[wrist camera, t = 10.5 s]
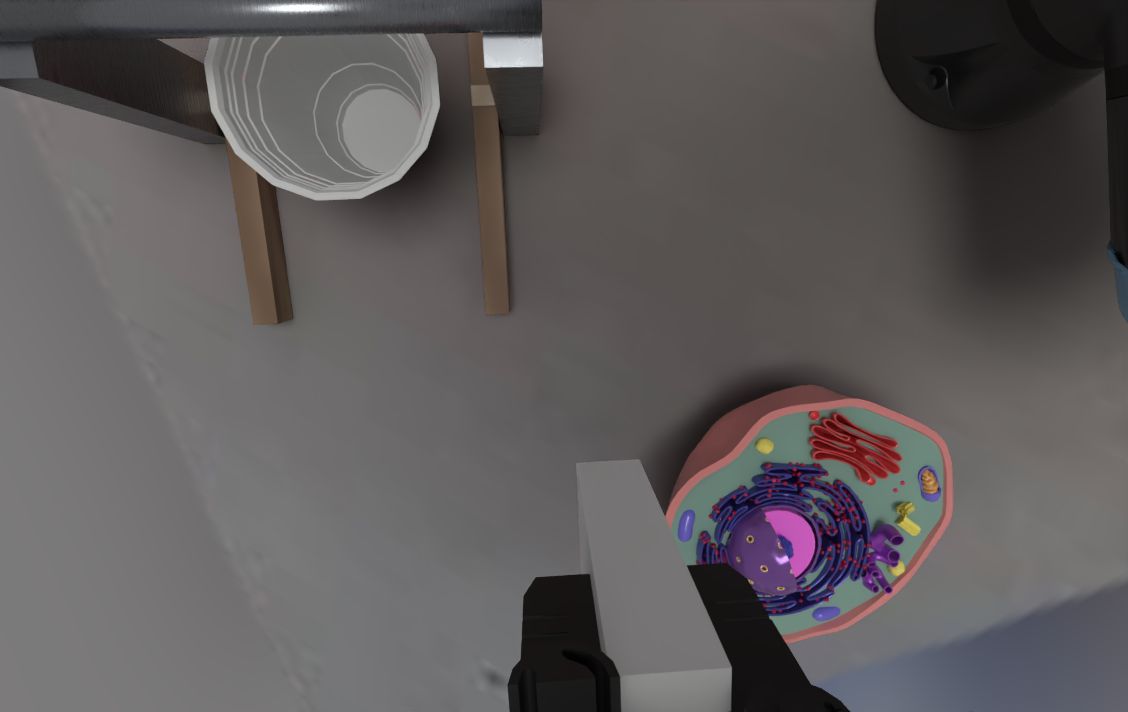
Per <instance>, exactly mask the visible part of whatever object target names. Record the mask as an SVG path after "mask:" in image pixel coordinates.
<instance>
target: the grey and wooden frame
mask: <svg viewBox="0 0 1128 712" xmlns="http://www.w3.org/2000/svg"><path fill="white" fill-rule="evenodd" d="M429 33H468V48H469V63H470V79H471V98H472V109H473V125H474V140H475V155H476V171H477V186H478V202H479V217H480V232H481V248H482V263H483V279H484V294H485V309H486V315H497V314H509V313H510V310H511V308H510V290H509V272H508V254H507V237H506V219H505V201H504V183H503V165H502V147H501V129H500V124H501V128H502V131H503V135H504V136H514V135H539V122H540V107H541V91H542V75H543V52H542V2H541V0H0V86H1V87H5V88H8V89H12V90H15V91H19V92H22V93H26V94H29V95H33V96H37V97H40V98H44V99H47V100H51V101H54V102H58V103H61V104H65V105H68V106H72V107H75V108H79V109H82V110H86V111H90V112H93V113H97V114H100V115H104V116H107V117H111V118H114V119H118V120H121V121H125V122H128V123H132V124H136V125H139V126H143V127H146V128H150V129H153V130H157V131H160V132H164V133H167V134H171V135H174V136H178V137H181V138H185V139H189V140H192V141H196V142H199V143H203V144H226V146H227V153H228V160H229V166H230V173H231V179H232V186H233V192H234V199H235V206H236V212H237V219H238V225H239V232H240V238H241V245H242V252H243V258H244V265H245V271H246V278H247V284H248V291H249V298H250V304H251V311H252V317H253V324H254V325H263V324H279V323H282V322H285V321H288V320H291V319H293V314H292V306H291V299H290V292H289V285H288V277H287V270H286V263H285V255H284V248H283V241H282V233H281V226H280V219H279V211H278V204H277V197H276V190H275V186H274V185H272V184H271V183H270V182H268V181H267V180H266V179H265V178H264V177H262V176H261V175H260V174H259V173H258V172H256V171H255V170H254V169H253V168H252V167H251V166H249V165H248V164H247V163H246V162H245V161H243V160H242V159H241V158H240V157H239V156H237V155H236V154H235V152H234V150H233V149H232V147H231V145H230V143H229V142H228V140H227V138H226V136H225V135H224V133H223V131H222V129H221V128H220V126H219V124H218V122H217V121H216V119H215V117H214V115H213V113H212V112H211V107H210V100H209V93H208V86H207V80H206V73H205V66H204V64H203V63H201V62H199V61H197V60H195V59H193V58H191V57H189V56H188V55H186V54H184V53H182V52H180V51H178V50H176V49H174V48H172V47H170V46H169V45H167V44H165V43H163V42H161V41H159V40H157V39H174V38H225V37H276V36H327V35H378V34H429Z"/></svg>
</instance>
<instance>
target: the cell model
mask: <svg viewBox="0 0 1128 712" xmlns="http://www.w3.org/2000/svg"><path fill="white" fill-rule="evenodd" d="M952 513H953V479H952V460H951V457H950V454H949V451H948V448H947V445H946V443H945V441H944V440H943V439H942V438H941V437H940V436H939V435H938V434H937V433H936V432H934V431H933V430H931V429H930V428H928V427H927V426H925V425H923V424H921V423H919V422H917V421H915V420H913V419H911V418H909V417H906V416H904V415H902V414H899V413H897V412H894V411H892V410H889V409H887V408H885V407H882V406H880V405H877V404H875V403H872V402H869V401H866V400H862V399H858V398H853V397H849V396H845V395H842V394H839V393H837V392H835V391H832V390H830V389H827V388H825V387H823V386H818V385H800V386H795V387H789V388H786V389H782V390H779V391H776V392H773V393H770V394H768V395H766V396H763V397H761V398H758V399H756V400H754V401H751V402H749V403H746V404H744V405H742V406H740V407H738V408H736V409H733V410H732V411H730V412H728V413H726V414H725V415H723V416H722V417H721V418H720V419H719V420H717V421H716V422H715V423H714V424H713V425H712V426H711V428H710V429H709V430H708V432H707V433H706V434H705V435H704V437H703V438H702V439H701V440H700V442H699V443H698V444H697V446H696V447H695V448H694V450H693V451H692V452H691V454H690V455H689V457H688V458H687V460H686V462H685V464H684V466H683V468H682V470H681V472H680V474H679V476H678V479H677V481H676V483H675V486H674V488H673V491H672V494H671V497H670V501H669V504H668V508H667V512H666V516H665V518H666V520H667V523H668V525H669V527H670V529H671V532H672V534H673V536H674V538H675V541H676V543H677V545H678V547H679V550H680V552H681V554H682V556H683V559H684V561H685V563H686V565H699V564H714V563H727V564H728V565H730V566H731V567H732V568H734V569H735V570H736V571H738V572H739V573H740V574H742V575H743V576H744V577H746V578H747V579H748V581H749V583H750V584H751V586H752V588H753V589H754V591H755V593H756V594H757V596H758V598H759V602H761V603H762V604H763V606H764V608H765V609H766V611H767V612H768V614H769V618H770V620H771V619H772V621H773V622H774V624H775V626H776V627H777V629H778V631H779V632H780V634H781V636H782V637H783V639H784V641H785V642H786V643H792V642H796V641H799V640H803V639H806V638H810V637H814V636H819V635H824V634H828V633H833V632H837V631H840V630H842V629H845V628H847V627H849V626H851V625H852V624H854V623H856V622H857V621H859V620H860V619H862V618H863V617H865V616H866V615H868V614H870V613H871V612H873V611H874V610H876V609H877V608H878V607H880V606H881V605H883V604H884V603H885V602H886V601H887V600H889V599H890V598H891V597H892V596H894V595H895V594H896V593H897V592H898V591H899V590H900V589H901V588H902V587H903V586H904V585H905V584H906V583H907V582H908V581H909V580H910V579H911V577H912V576H913V575H914V574H915V572H916V571H917V569H918V568H919V567H920V565H921V564H922V563H923V561H924V560H925V558H926V557H927V556H928V554H929V553H930V551H931V550H932V549H933V547H934V546H935V544H936V543H937V541H938V540H939V539H940V537H941V536H942V534H943V533H944V531H945V529H946V528H947V526H948V524H949V523H950V521H951V517H952Z"/></svg>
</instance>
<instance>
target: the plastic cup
mask: <svg viewBox="0 0 1128 712" xmlns="http://www.w3.org/2000/svg"><path fill="white" fill-rule="evenodd" d="M204 66H205V73H206V80H207V86H208V93H209V100H210V107H211V112H212V113H213V115H214V117H215V119H216V121H217V122H218V124H219V126H220V128H221V129H222V131H223V133H224V135H225V136H226V138H227V140H228V142H229V143H230V145H231V147H232V149H233V150H234V152H235V154H236V155H237V156H239V157H240V158H241V159H242V160H243V161H245V162H246V163H247V164H248V165H249V166H251V167H252V168H253V169H254V170H255V171H256V172H258V173H259V174H260V175H261V176H262V177H264V178H265V179H266V180H267V181H268V182H270V183H271V184H272V185H274V186H277V187H280V188H283V189H285V190H288V191H291V192H294V193H297V194H300V195H302V196H305V197H308V198H311V199H314V200H340V199H361V198H363V197H365V196H367V195H369V194H372V193H374V192H376V191H378V190H380V189H382V188H384V187H386V186H388V185H390V184H393V183H395V182H397V181H399V180H400V179H401V178H402V177H403V175H404V174H405V173H406V172H407V171H408V170H409V169H410V168H411V167H412V166H413V165H414V164H415V162H416V161H417V160H418V159H419V158H420V156H421V155H422V153H423V152H424V151H425V150H426V149H427V146H428V143H429V140H430V137H431V134H432V130H433V127H434V124H435V121H436V117H437V114H438V111H439V108H440V99H439V87H438V75H437V63H436V58H435V56H434V54H433V52H432V50H431V48H430V46H429V44H428V42H427V40H426V37H425V35H424V34H378V35H327V36H276V37H225V38H210V42H209V46H208V50H207V54H206V58H205V61H204Z"/></svg>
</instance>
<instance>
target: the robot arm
mask: <svg viewBox="0 0 1128 712" xmlns="http://www.w3.org/2000/svg"><path fill="white" fill-rule="evenodd" d="M876 39H877V46H878V52H879V56H880V60H881V63H882V66H883V69H884V72H885V74H886V76H887V78H888V80H889V82H890V84H891V86H892V88H893V89H894V91H895V92H896V93H897V95H898V96H899V97H900V99H901V100H902V101H903V102H904V103H905V104H906V105H907V106H908V107H909V108H910V109H911V110H912V111H914V112H915V113H916V114H918V115H919V116H920V117H922V118H924V119H926V120H927V121H929V122H932V123H934V124H936V125H939V126H942V127H946V128H950V129H955V130H980V129H987V128H991V127H995V126H999V125H1003V124H1008V123H1012V122H1016V121H1019V120H1022V119H1025V118H1027V117H1030V116H1032V115H1034V114H1036V113H1038V112H1041V111H1043V110H1044V109H1046V108H1048V107H1050V106H1051V105H1053V104H1054V103H1056V102H1057V101H1059V100H1060V99H1062V98H1063V97H1065V96H1067V95H1068V94H1070V93H1071V92H1073V91H1074V90H1076V89H1077V88H1079V87H1080V86H1082V85H1083V84H1085V83H1086V82H1088V81H1089V80H1091V79H1093V78H1094V77H1096V76H1097V75H1099V74H1100V73H1102V72H1103V71H1105V83H1106V112H1107V138H1108V169H1109V200H1110V231H1111V240H1110V242H1109V244H1108V246H1107V254H1108V258H1109V260H1110V262H1111V264H1112V265H1113V266H1114V270H1115V279H1116V288H1117V297H1118V304H1119V309H1120V311H1121V313H1122V315H1123V317H1124V318H1125V320H1126V321H1127V322H1128V0H878V4H877V12H876ZM576 471H577V493H578V515H579V538H580V560H581V573H582V574H579V575H564V576H549V577H536V578H535V579H534V581H533V582H532V584H531V585H530V587H529V588H528V590H527V592H526V593H525V595H524V599H523V622H522V644H521V660H520V661H519V662H518V663H517V664H516V666H515V667H514V668H513V670H512V673H511V676H510V679H509V682H508V696H509V709H510V712H850V711H849V710H848V709H847V708H846V707H845V706H844V705H843V703H842V702H841V701H840V700H838V699H837V698H835V697H833V696H832V695H831V694H829V693H828V692H826V691H824V690H823V689H821V688H819V687H816V686H813V685H811V684H810V682H809V681H808V679H807V677H806V676H805V674H804V672H803V671H802V669H801V667H800V666H799V664H798V662H797V661H796V659H795V657H794V656H793V654H792V652H791V651H790V649H789V647H788V646H787V644H786V642H785V641H784V639H783V637H782V636H781V634H780V632H779V631H778V629H777V627H776V626H775V624H774V622H773V621H772V619H771V620H770V618H769V614H768V612H767V611H766V609H765V608H764V606H763V604H762V603H761V602H759V598H758V596H757V594H756V593H755V591H754V589H753V588H752V586H751V584H750V583H749V581H748V579H747V578H746V577H744V576H743V575H742V574H740V573H739V572H738V571H736V570H735V569H734V568H732V567H731V566H730V565H728V564H727V563H714V564H699V565H686V563H685V561H684V559H683V556H682V554H681V552H680V550H679V547H678V545H677V543H676V541H675V538H674V536H673V534H672V532H671V529H670V527H669V525H668V523H667V520H666V518H665V516H664V514H663V511H662V509H661V507H660V505H659V502H658V500H657V498H656V496H655V493H654V491H653V489H652V487H651V484H650V482H649V480H648V477H647V475H646V473H645V471H644V468H643V466H642V464H641V462H640V459H635V460H618V461H602V462H585V463H576Z"/></svg>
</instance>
